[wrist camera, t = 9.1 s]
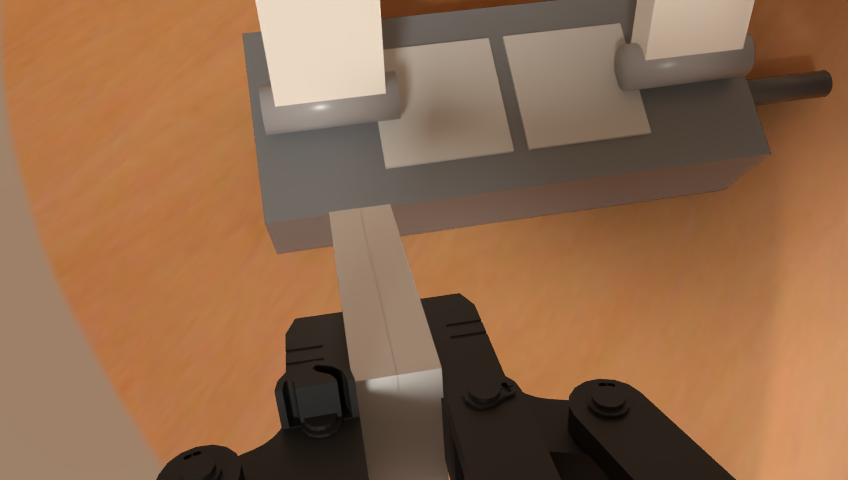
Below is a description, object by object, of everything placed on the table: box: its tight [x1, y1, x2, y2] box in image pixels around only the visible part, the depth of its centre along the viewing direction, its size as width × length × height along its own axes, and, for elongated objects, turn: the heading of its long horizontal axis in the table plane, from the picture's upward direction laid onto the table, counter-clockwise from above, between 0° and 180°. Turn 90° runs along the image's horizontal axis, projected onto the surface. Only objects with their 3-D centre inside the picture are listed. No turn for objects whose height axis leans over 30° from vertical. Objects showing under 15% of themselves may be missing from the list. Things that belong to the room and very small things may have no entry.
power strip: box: [243, 0, 832, 254], centre depth 31 cm, size 26×8×4 cm, turn 100°
